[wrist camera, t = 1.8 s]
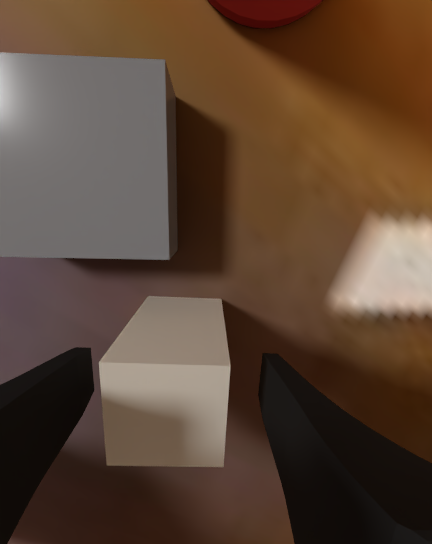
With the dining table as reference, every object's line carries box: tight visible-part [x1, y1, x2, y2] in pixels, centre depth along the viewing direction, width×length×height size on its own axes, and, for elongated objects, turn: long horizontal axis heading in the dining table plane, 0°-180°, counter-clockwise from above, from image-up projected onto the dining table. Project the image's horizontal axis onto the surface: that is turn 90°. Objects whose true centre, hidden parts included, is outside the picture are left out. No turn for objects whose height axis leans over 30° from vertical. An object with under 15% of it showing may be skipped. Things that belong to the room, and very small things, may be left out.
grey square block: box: [0, 53, 178, 260], centre depth 10 cm, size 7×7×3 cm
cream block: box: [99, 296, 231, 467], centre depth 11 cm, size 4×4×6 cm
